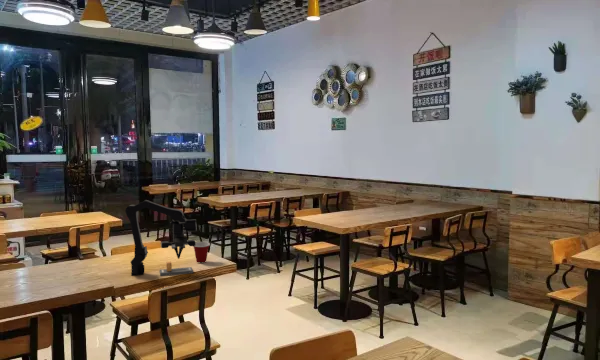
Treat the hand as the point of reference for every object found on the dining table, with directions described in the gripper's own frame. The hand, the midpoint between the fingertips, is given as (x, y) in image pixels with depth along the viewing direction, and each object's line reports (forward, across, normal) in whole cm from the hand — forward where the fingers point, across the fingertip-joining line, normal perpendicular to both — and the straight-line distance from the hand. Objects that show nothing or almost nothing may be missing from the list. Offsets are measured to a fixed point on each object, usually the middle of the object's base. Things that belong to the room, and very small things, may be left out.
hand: (178, 258), depth 255 cm
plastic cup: (+8, +16, +20) cm, 27 cm away
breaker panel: (+8, -1, 0) cm, 8 cm away
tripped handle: (+6, -5, 0) cm, 8 cm away
